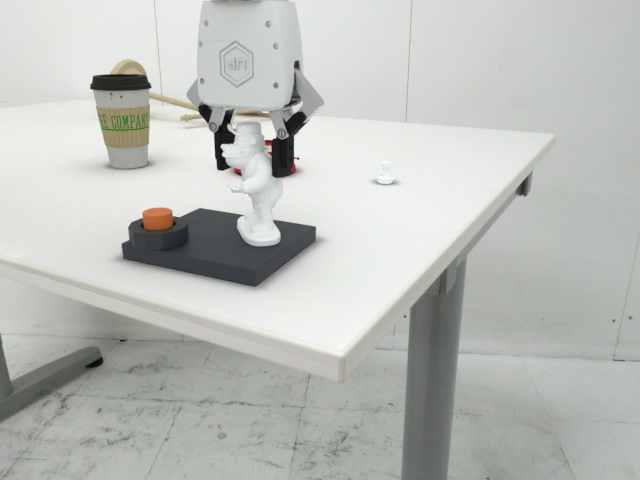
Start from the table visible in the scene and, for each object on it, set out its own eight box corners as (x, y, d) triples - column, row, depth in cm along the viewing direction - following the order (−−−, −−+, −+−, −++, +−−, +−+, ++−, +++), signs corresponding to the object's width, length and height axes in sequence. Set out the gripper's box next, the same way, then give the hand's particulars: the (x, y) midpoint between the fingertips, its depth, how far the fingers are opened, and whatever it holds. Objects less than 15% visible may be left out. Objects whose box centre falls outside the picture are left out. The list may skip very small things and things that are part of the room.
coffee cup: (90, 170, 95) (78, 77, 90) (112, 157, 104) (102, 73, 99) (148, 171, 95) (139, 78, 90) (165, 159, 104) (158, 74, 99)
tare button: (137, 229, 59) (136, 213, 58) (156, 221, 61) (155, 205, 61) (161, 234, 58) (159, 217, 57) (179, 225, 60) (178, 209, 60)
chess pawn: (389, 185, 89) (390, 163, 88) (374, 182, 90) (375, 161, 89) (395, 181, 92) (396, 160, 90) (380, 179, 93) (381, 158, 91)
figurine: (218, 222, 66) (212, 117, 62) (274, 217, 68) (271, 115, 64) (230, 249, 58) (224, 131, 54) (293, 243, 60) (291, 128, 55)
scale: (119, 259, 59) (116, 228, 58) (200, 220, 72) (199, 193, 70) (253, 288, 53) (251, 253, 52) (316, 240, 66) (316, 211, 64)
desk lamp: (97, 65, 137) (242, 104, 127) (181, 43, 166) (305, 73, 155) (101, 124, 145) (238, 165, 134) (181, 93, 173) (299, 125, 162)
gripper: (150, -16, 54) (165, 170, 60) (316, -19, 47) (313, 190, 54) (197, -11, 60) (206, 156, 67) (348, -13, 54) (342, 173, 60)
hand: (254, 169), depth 60 cm, fingers closed on figurine, 5 cm apart
